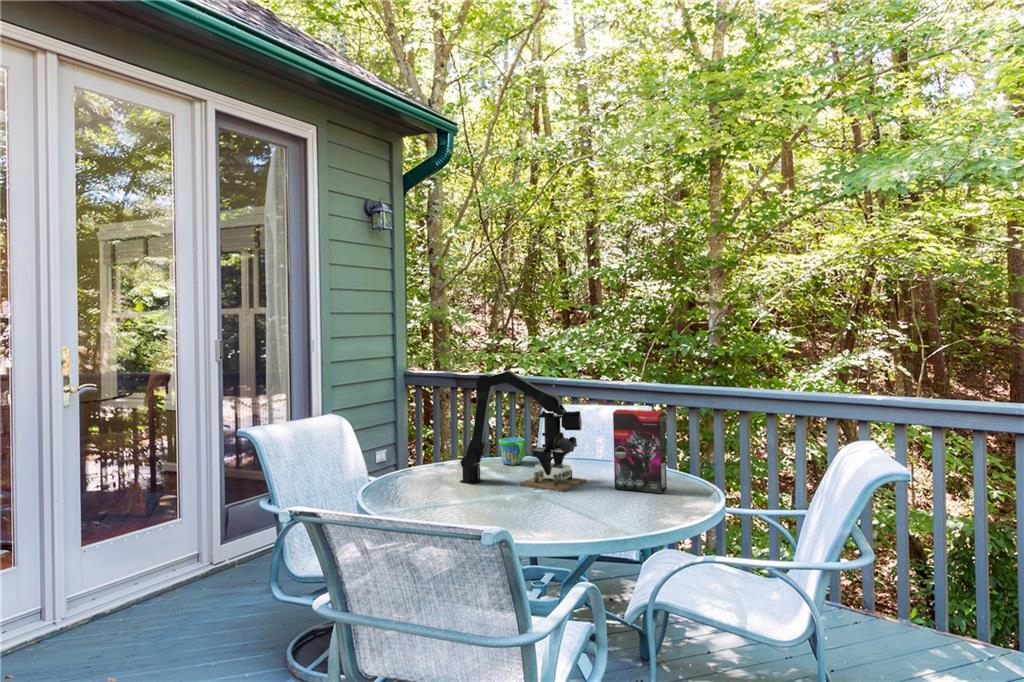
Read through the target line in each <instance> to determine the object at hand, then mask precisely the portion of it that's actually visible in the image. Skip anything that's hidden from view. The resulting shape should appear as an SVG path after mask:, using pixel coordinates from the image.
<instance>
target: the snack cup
mask: <svg viewBox="0 0 1024 682" xmlns="http://www.w3.org/2000/svg"><path fill="white" fill-rule="evenodd" d="M498 443H499V446H498V447H499V449H498V452H499V454H501V459H502V464H503V463H504V464H503V465H506V464H509V465H508V466H511V465H510V464H519V465H520V464H522V460H523V459H525V457H526V451H525V446H524V445H525V443H526V440H525V438H523V437H512V436H511V437H502V438H500V439H498Z"/></svg>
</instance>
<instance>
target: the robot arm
mask: <svg viewBox="0 0 1024 682" xmlns="http://www.w3.org/2000/svg"><path fill="white" fill-rule="evenodd" d="M504 383H505V384H506V383H507V384H509V385H510V386H512V387H514V388H515V389H517V390H519V391H521V393H524V394H526V395H527V396H528V397H530V398H532V399H534V401H535V402H536V403H537V404H538V405H539V406H540V407H541V408H542V409H544V410H543V411H541V413H540V415H539V414H538V419H543V420H544V422H543V423H544V427H543V428H544V432H541V436H542V437H544V444H542V447H536V448H533V449H532V450H531V457H532V458H536V459H538V461H539V464H541V465H542V467H543V469H544V471H545V473H546V475H550V466H551V463H552V460H553V463H555V464H563V462H564V459H565V457H566V456H567V455H568V454H569V453H573V452H574V450H575V448H577V447H578V445H577V438H576V437H574V436H570V437H569V438H568V437H564V436H565V435H564V433H563V432H561V428H563V429H564V430H565V431H580V432H581V431H582V425H583V423H582V422H583V421H582V416H581V411H580V410H575V411H567V409H566V408H565V407H564V405H563V404H562V400H561V397H560V396H559V395H558V394H555V393H552V392H550V391H547V390H543V389H541V388H539V387H538V386H536V385H534V384H533V383H530V382H529V381H528V380H526V379H525V378H522V377H520V376H519V375H517V374H516V373H514V372H513V371H511V370H506V371H503V372H501V373H497V374H491V373H485V374H482V375H480V376H478V378H476V383H475V385H476V387H475V388H476V395H477V405H476V409H475V418H474V423H473V431H472V437H471V439H470V442H469V444H468V447H467V448H466V449H467V450H466V452H465V453H466V454H465V456H464V457H463V458H462V459H461V460H460V462H459V463H460V465H461V468H462V479H460V480H459V481H460V482H459V483H463V482H466V483H465V484H470V483H474V484H476V482H477V483H479V482H480V481H481V482H482V481H484V478H481V467H480V466H481V464H480V463H481V461H482V459H483V458H485V456H486V454H488V446H489V441H486V438H485V435H486V427H487V420H488V414H489V413H488V412H489V405H490V399H491V397H492V394H493V393H494V390H495V387H496V386H497V385H500V384H504ZM481 482H480V483H481Z"/></svg>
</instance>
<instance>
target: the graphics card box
mask: <svg viewBox="0 0 1024 682" xmlns="http://www.w3.org/2000/svg"><path fill="white" fill-rule="evenodd" d="M612 424H613V426H612V427H613V429H612V430H613V431H612V432H613V462H614V463H613V466H614V467H613V469H614V472H613V474H614V490H619V489H620V490H621V491H622V490H623V491H633V492H634V491H635V492H645V493H653V494H657V493H658V494H662V493H663V492H665V491H667V488H668V487H667V485H668V483H667V455H666V454H667V453H666V451H667V450H666V412H665V410H645V409H644V410H642V409H616V410H614V411H613V412H612Z"/></svg>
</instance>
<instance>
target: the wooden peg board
mask: <svg viewBox="0 0 1024 682" xmlns="http://www.w3.org/2000/svg"><path fill="white" fill-rule="evenodd" d="M533 474H534V476H533V477H531V478H529V479H526V480H523V481H520V482H519V486H520V485H522V486H521V487H526V486H529V487H528V488H532V487H536V488H535V489H539V488H543V489H542V490H546V489H550V490H549V491H553V490H558V491H557V492H560V491H564V492H567V491H569V490H568V489H570V490H571V488H572V489H574V488H573V487H575V488H577V487H579V486H578V485H580V486H582V485H584V484H583V483H585V484H587V483H586V482H588V480H587V479H586V478H579V477H573V469H571V477H568V478H565V479H563V480H558V475H556V474H555V475H553V479H550V478H543V477H539V472H535V471H534V473H533ZM581 484H582V485H581ZM576 486H577V487H576ZM566 490H567V491H566Z"/></svg>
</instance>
